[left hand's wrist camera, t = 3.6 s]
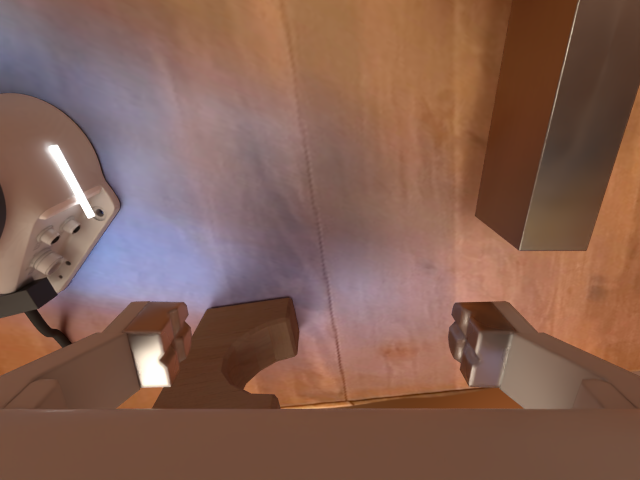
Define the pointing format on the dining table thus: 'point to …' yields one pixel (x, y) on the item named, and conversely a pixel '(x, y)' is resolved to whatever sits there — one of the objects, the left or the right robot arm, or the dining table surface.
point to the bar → (558, 119)
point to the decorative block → (233, 356)
